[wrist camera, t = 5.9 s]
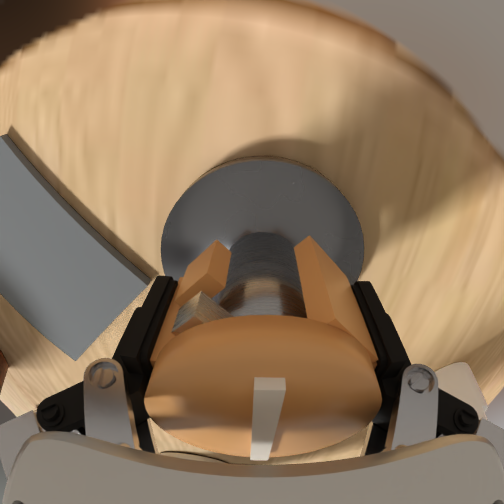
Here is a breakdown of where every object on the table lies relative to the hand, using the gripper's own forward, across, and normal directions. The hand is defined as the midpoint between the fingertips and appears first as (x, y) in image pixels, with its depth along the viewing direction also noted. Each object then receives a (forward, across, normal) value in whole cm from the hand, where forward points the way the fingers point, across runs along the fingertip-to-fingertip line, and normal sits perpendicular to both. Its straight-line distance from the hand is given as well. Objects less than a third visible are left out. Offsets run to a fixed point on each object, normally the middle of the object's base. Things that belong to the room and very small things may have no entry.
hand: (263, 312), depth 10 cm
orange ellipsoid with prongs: (0, 0, 0) cm, 0 cm away
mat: (+4, +16, +2) cm, 17 cm away
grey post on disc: (+4, 0, 0) cm, 4 cm away
